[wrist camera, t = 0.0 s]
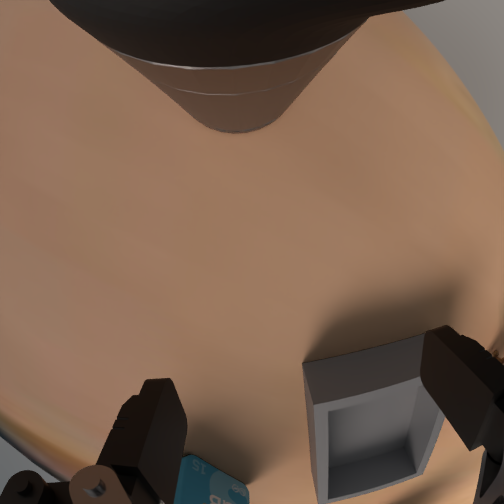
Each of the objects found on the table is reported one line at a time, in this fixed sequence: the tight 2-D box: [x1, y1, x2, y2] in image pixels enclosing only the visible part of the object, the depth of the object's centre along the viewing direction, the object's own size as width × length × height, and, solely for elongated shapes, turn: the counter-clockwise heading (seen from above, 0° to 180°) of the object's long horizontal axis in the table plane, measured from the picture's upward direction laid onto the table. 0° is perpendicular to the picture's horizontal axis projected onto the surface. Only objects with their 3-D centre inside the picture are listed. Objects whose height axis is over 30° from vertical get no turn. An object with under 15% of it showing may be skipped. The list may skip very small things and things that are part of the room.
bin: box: [302, 333, 445, 504], centre depth 29 cm, size 20×14×6 cm
